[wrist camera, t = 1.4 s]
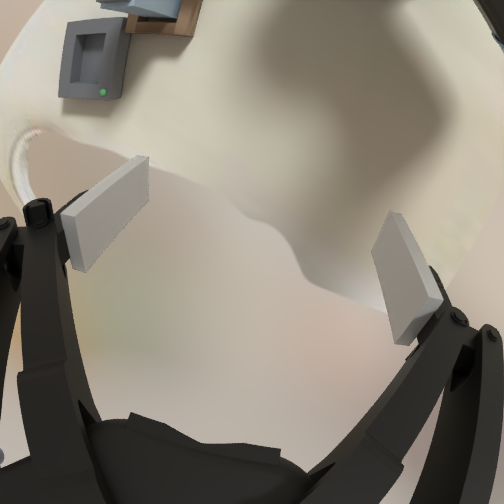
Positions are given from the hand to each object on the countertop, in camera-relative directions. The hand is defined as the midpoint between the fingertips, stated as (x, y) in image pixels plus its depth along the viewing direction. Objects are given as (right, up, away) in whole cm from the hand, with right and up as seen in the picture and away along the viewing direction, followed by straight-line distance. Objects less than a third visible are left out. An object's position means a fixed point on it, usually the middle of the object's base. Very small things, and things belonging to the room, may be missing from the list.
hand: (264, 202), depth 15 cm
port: (-23, +25, +16) cm, 38 cm away
